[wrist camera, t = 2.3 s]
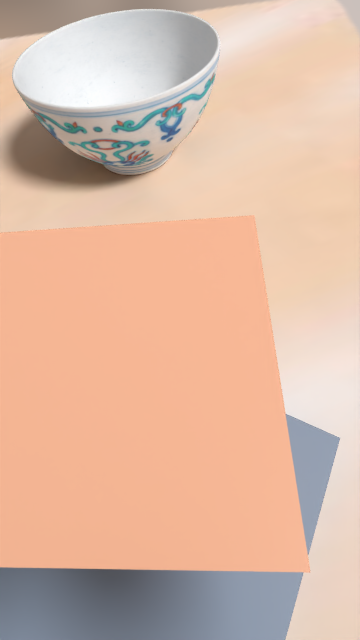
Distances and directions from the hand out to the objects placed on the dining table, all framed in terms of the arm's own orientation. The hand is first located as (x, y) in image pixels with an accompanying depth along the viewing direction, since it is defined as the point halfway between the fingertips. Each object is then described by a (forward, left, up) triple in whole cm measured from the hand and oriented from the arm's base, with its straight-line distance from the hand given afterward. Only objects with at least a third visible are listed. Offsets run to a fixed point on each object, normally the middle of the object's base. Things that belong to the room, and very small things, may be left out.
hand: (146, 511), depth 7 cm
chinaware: (+24, +17, -10) cm, 31 cm away
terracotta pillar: (+2, +1, -9) cm, 9 cm away
